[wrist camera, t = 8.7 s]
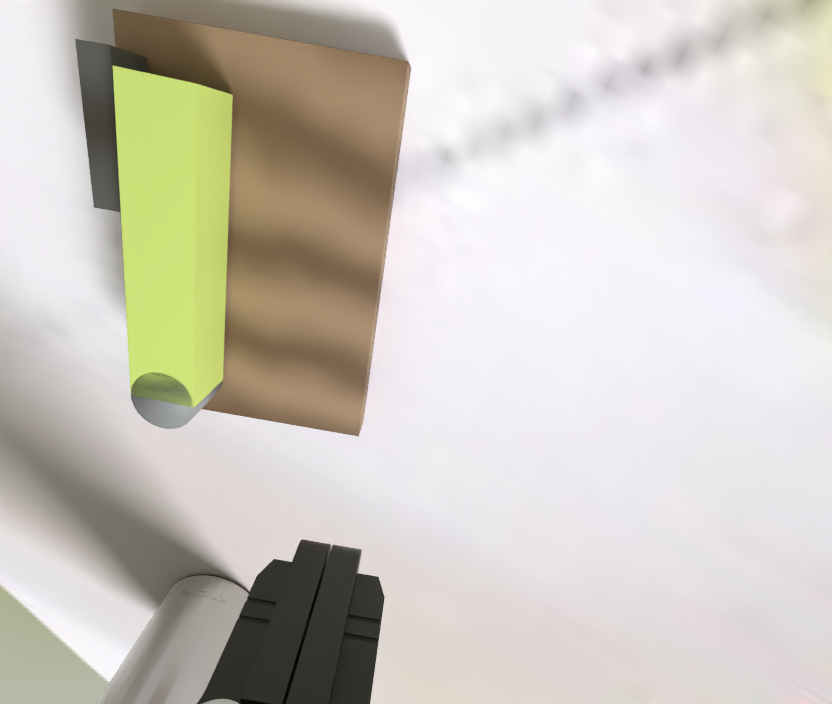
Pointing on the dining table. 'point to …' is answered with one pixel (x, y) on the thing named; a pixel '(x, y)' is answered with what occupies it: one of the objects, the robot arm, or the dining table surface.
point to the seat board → (279, 203)
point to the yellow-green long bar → (173, 239)
